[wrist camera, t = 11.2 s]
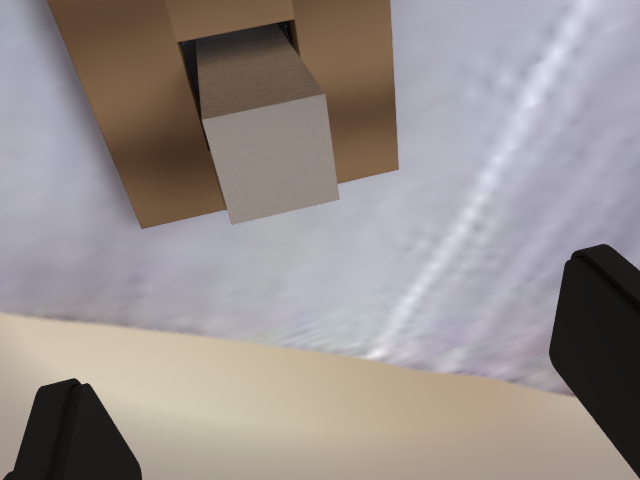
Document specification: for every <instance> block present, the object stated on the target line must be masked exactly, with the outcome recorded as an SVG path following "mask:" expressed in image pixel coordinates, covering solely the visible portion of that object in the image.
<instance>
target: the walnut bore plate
mask: <svg viewBox="0 0 640 480" xmlns="http://www.w3.org/2000/svg"><path fill="white" fill-rule="evenodd" d="M47 1H48V4H49V6H50V8H51V11H52V13H53V16H54V18H55V20H56V23H57V25H58V28H59V30H60V33H61V35H62V37H63V40H64V42H65V45H66V47H67V50H68V52H69V54H70V57H71V59H72V62H73V64H74V66H75V69H76V71H77V74H78V76H79V79H80V81H81V83H82V86H83V88H84V91H85V93H86V95H87V98H88V100H89V103H90V105H91V108H92V110H93V112H94V115H95V117H96V120H97V122H98V125H99V127H100V129H101V132H102V134H103V137H104V139H105V141H106V144H107V146H108V149H109V151H110V154H111V156H112V158H113V161H114V163H115V166H116V168H117V171H118V173H119V175H120V178H121V180H122V183H123V185H124V187H125V190H126V192H127V195H128V197H129V200H130V202H131V204H132V207H133V209H134V212H135V214H136V216H137V219H138V221H139V224H140V226H141V229H144V228H148V227H152V226H157V225H161V224H165V223H170V222H174V221H178V220H183V219H187V218H191V217H196V216H200V215H204V214H209V213H213V212H217V211H222V210H226V209H227V206H226V203H225V199H224V196H223V192H222V189H221V185H220V182H219V178H218V175H217V171H216V168H215V164H214V161H213V157H212V154H211V150H210V147H209V143H208V140H207V136H206V133H205V129H204V126H203V122H202V115H201V108H200V105H199V101H198V98H197V94H196V91H195V87H194V84H193V80H192V77H191V73H190V70H189V66H188V62H187V59H186V55H185V52H184V48H183V45H182V41H186V40H191V39H196V38H201V37H206V36H211V35H217V34H222V33H227V32H232V31H237V30H242V29H247V28H252V27H257V26H262V25H267V24H272V23H278V22H283V21H286V23H287V29H288V35H289V41H290V44H291V45H292V47H293V48H294V50H295V51H296V52H297V54H298V55H299V57H300V58H301V60H302V61H303V62H304V64H305V65H306V67H307V68H308V70H309V71H310V72H311V74H312V75H313V77H314V78H315V80H316V81H317V82H318V84H319V85H320V87H321V88H322V90H323V91H324V92H325V95H326V102H327V110H328V117H329V125H330V133H331V140H332V148H333V155H334V163H335V170H336V178H337V184H338V183H343V182H347V181H351V180H356V179H360V178H364V177H369V176H373V175H377V174H382V173H386V172H390V171H394V170H399V165H398V145H397V126H396V106H395V87H394V67H393V48H392V28H391V8H390V0H47Z"/></svg>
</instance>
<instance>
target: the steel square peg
mask: <svg viewBox="0 0 640 480" xmlns="http://www.w3.org/2000/svg"><path fill="white" fill-rule="evenodd" d="M195 44H196V56H197V68H198V80H199V92H200V104H201V115H202V122H203V126H204V129H205V133H206V136H207V140H208V143H209V147H210V150H211V154H212V157H213V161H214V164H215V168H216V171H217V175H218V178H219V182H220V185H221V189H222V192H223V196H224V199H225V203H226V206H227V210H228V213H229V217H230V220H231V224H232V225H233V224H237V223H241V222H245V221H250V220H254V219H258V218H263V217H267V216H271V215H275V214H280V213H284V212H288V211H292V210H297V209H301V208H305V207H309V206H314V205H318V204H322V203H326V202H331V201H335V200H339V193H338V185H337V178H336V170H335V163H334V155H333V148H332V140H331V133H330V125H329V117H328V110H327V102H326V95H325V92H324V91H323V90H322V88H321V87H320V85H319V84H318V82H317V81H316V80H315V78H314V77H313V75H312V74H311V72H310V71H309V70H308V68H307V67H306V65H305V64H304V62H303V61H302V60H301V58H300V57H299V55H298V54H297V52H296V51H295V50H294V48H293V47H292V45H291V44H290V43H289V41H288V40H287V38H286V37H285V35H284V34H283V33H282V31H281V30H280V28H279V27H278V25H277V24H276V23H272V24H267V25H262V26H257V27H252V28H247V29H242V30H237V31H232V32H227V33H222V34H217V35H211V36H206V37H201V38H196V39H195Z"/></svg>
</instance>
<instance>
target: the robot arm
mask: <svg viewBox="0 0 640 480" xmlns="http://www.w3.org/2000/svg"><path fill="white" fill-rule="evenodd" d="M549 356H550V360H551V362H552V365H553V366H554V368H555V369H556V371H557V372H558V373H559V375H560V376H561V377H562V379H563V380H564V381H565V382H566V384H567V385H568V386H569V388H570V389H571V390H572V391H573V393H574V394H575V395H576V397H577V398H578V399H579V401H580V402H581V403H582V404H583V406H584V407H585V408H586V409H587V411H588V412H589V413H590V415H591V416H592V417H593V419H595V421H596V423H597V424H598V425H599V426H600V428H601V429H602V430H603V432H604V433H605V434H606V436H607V437H608V438H609V439H610V441H611V442H612V443H613V445H614V446H615V447H616V448H617V450H618V451H619V452H620V454H621V455H622V456H623V458H624V459H625V460H626V461H627V463H628V464H629V465H630V467H631V468H632V469H633V471H634V472H635V473H636V474H637V476H638V477H639V478H640V271H639V270H638V269H637V268H636V267H635V266H633V265H632V264H631V263H630V262H629V261H627V260H626V259H625V258H624V257H623V256H621V255H620V254H619V253H618V252H617V251H616V250H614V249H613V248H612V247H610V246H609V245H606V244H601V245H597V246H593V247H589V248H585V249H581V250H578V251H575V252H574V253H573V254H572V256H571V259H570V260H568V261H567V262H566V263H565V267H564V272H563V278H562V283H561V288H560V294H559V299H558V305H557V310H556V316H555V321H554V327H553V332H552V338H551V343H550V349H549ZM3 480H142V473H141V468H140V465H139V463H138V461H137V460H136V458H135V456H134V455H133V453H132V451H131V450H130V448H129V446H128V445H127V443H126V442H125V440H124V438H123V437H122V435H121V434H120V432H119V430H118V429H117V427H116V425H115V424H114V422H113V421H112V419H111V417H110V416H109V414H108V412H107V411H106V409H105V408H104V406H103V404H102V403H101V401H100V399H99V398H98V396H97V395H96V393H95V392H94V390H93V388H92V387H91V386H90V384H88V383H86V384H82V385H81V383H80V382H79V381H78V380H77V379H75V378H74V379H69V380H65V381H61V382H57V383H54V384H49V385H45V386H41V387H40V388H39V389H38V391H37V393H36V396H35V399H34V403H33V406H32V409H31V413H30V416H29V419H28V423H27V427H26V430H25V433H24V436H23V440H22V443H21V446H20V450H19V453H18V457H17V460H16V463H15V467H14V470H13V471H12V472H9V473H8V474H7V475H6V476H5V478H4V479H3Z"/></svg>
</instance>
